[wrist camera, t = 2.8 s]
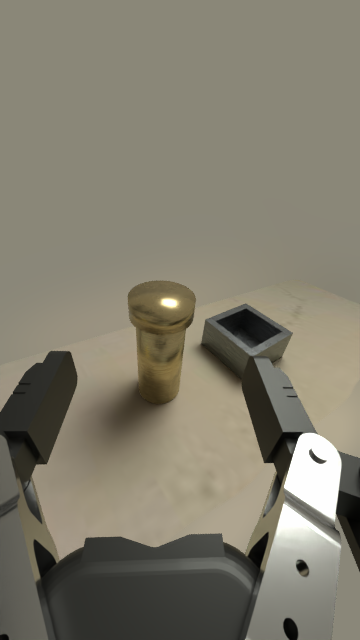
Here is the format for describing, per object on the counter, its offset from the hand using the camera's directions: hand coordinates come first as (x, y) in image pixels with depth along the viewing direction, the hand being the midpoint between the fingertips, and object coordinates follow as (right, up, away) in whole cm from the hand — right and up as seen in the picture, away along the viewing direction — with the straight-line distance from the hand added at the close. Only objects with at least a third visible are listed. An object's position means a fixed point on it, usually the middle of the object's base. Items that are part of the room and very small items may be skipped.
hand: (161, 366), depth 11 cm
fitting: (-2, -6, +19) cm, 20 cm away
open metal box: (+10, -2, +25) cm, 27 cm away
